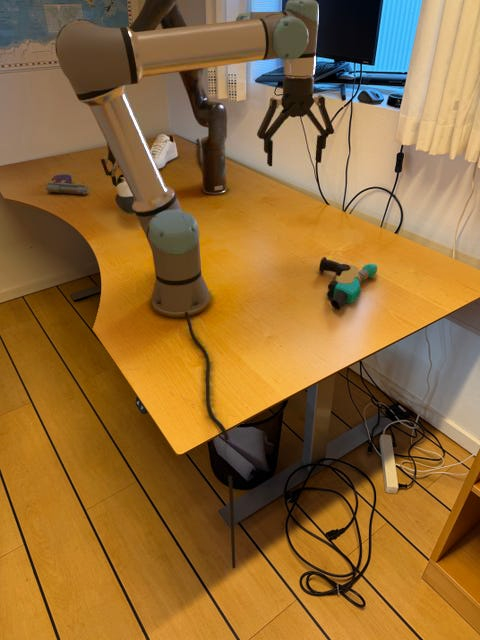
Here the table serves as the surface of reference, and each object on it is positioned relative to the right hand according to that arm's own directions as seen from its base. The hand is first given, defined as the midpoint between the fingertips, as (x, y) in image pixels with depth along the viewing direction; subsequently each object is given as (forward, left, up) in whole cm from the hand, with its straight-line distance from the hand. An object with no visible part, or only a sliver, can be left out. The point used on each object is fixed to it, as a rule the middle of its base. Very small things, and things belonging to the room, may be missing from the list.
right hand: (124, 184), depth 173 cm
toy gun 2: (+86, +28, -9) cm, 91 cm away
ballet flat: (+8, -3, -4) cm, 9 cm away
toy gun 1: (-30, -12, -9) cm, 34 cm away
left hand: (+64, +28, +20) cm, 72 cm away
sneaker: (-40, +30, -9) cm, 50 cm away
